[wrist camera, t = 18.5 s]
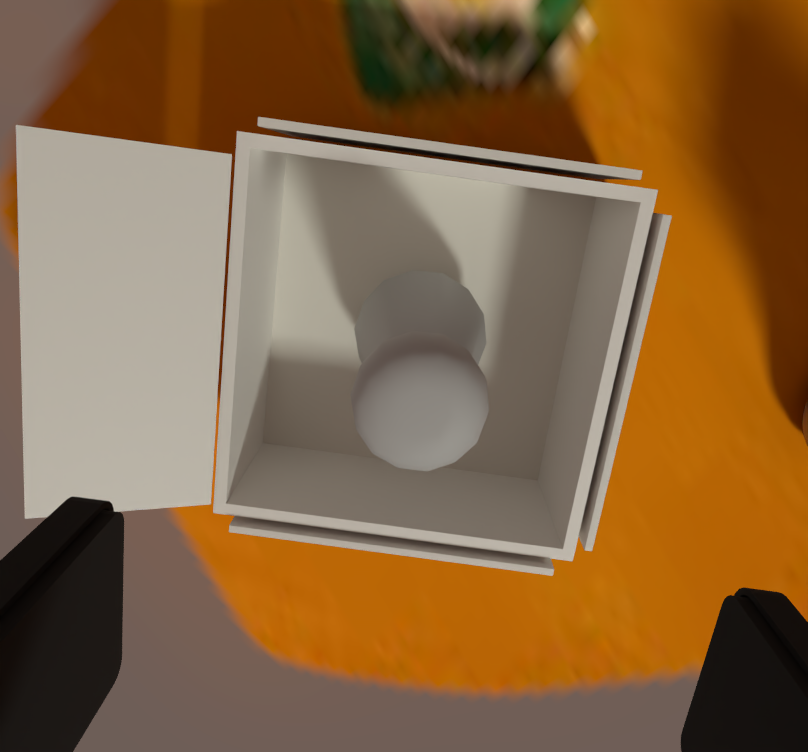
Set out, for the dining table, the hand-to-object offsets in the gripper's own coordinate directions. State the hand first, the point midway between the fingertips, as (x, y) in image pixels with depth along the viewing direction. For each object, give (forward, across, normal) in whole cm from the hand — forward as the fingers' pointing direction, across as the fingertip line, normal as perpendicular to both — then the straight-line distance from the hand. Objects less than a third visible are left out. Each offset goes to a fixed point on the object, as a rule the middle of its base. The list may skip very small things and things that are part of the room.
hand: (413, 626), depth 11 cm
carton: (+23, 0, +1) cm, 23 cm away
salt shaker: (+23, 0, 0) cm, 23 cm away
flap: (+14, +10, 0) cm, 18 cm away
